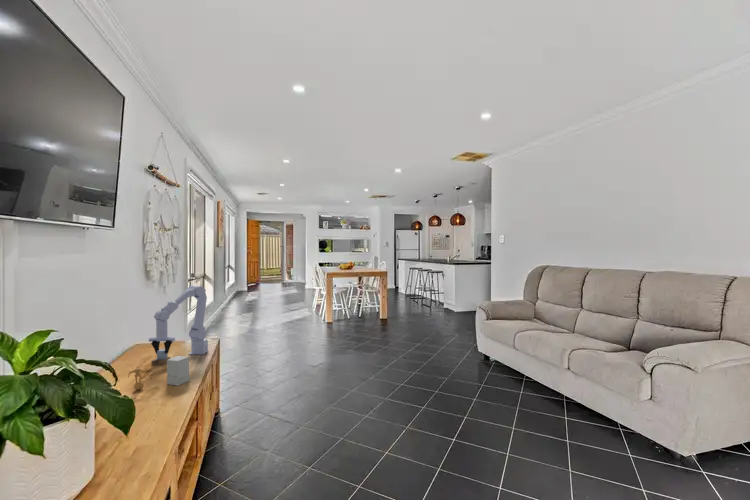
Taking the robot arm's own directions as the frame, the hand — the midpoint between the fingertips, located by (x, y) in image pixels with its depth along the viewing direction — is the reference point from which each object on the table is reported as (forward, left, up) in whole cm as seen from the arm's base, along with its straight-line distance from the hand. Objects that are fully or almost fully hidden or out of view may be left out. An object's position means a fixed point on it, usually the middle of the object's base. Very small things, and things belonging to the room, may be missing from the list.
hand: (162, 353), depth 214 cm
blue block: (0, 0, -3) cm, 3 cm away
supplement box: (-26, +31, -6) cm, 41 cm away
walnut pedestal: (0, 0, -6) cm, 6 cm away
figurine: (-12, +41, -6) cm, 43 cm away
